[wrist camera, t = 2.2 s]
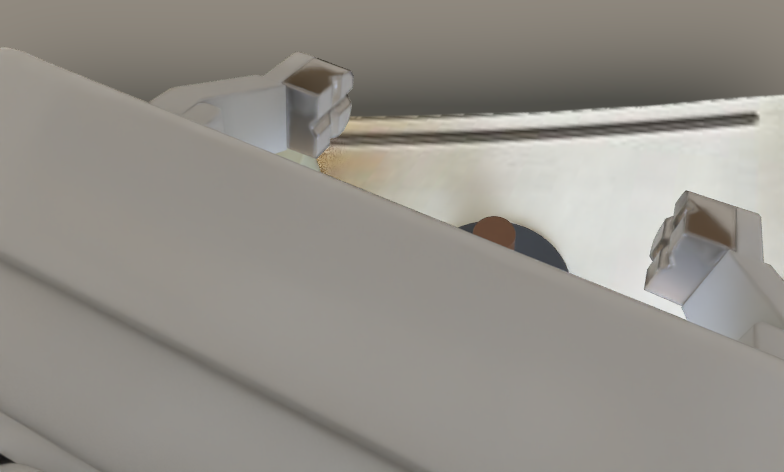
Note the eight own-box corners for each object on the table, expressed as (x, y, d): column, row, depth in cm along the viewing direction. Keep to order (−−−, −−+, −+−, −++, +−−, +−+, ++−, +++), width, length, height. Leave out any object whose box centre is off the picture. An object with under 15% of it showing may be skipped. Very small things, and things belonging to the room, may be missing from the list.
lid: (549, 215, 43) (559, 154, 37) (589, 347, 37) (610, 298, 31) (409, 236, 43) (398, 179, 37) (426, 369, 37) (417, 325, 31)
